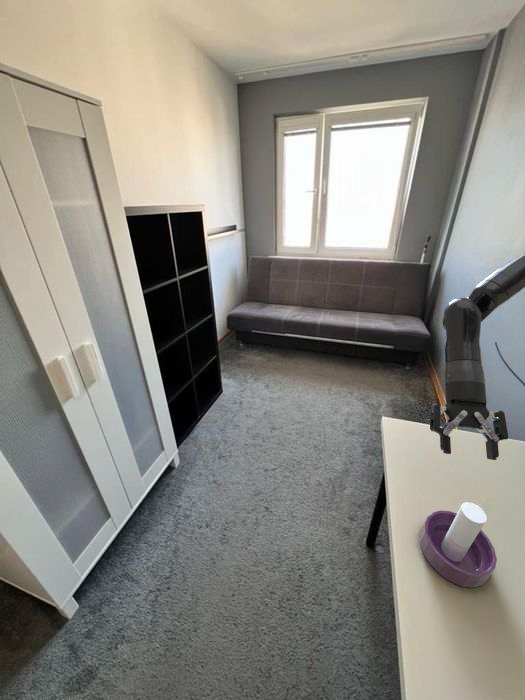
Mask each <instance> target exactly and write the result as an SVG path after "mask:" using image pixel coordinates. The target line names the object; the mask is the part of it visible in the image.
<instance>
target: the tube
mask: <svg viewBox="0 0 525 700" xmlns="http://www.w3.org/2000/svg"><path fill="white" fill-rule="evenodd" d="M456 513H457V515H456V517H455V519H454V521H453V523H452V525H451V527H450V528H449V530H448V532H447V534H446V536H445V538H444V540H443V542H442V544H441V549H442V551H443V553H444V554H445V555H446V556H447V557H448V558H449V559H450V560H452V561H455V562H459V561H461V560H462V559H463V557H464V556H465V554H466V553H467V551H468V549H469V548H470V546H471V544H472V543H473V541H474V540H475V538H476V536H477V535H478V533H479V532H480V530H482V529H483V527H484V525H485V524H486V522H487V519H488V517H487V514H486V512H485V511H484V509H482V508H481V507H480V506H479V505H477V504H475V503H473V502H469V501H465V502H463V503H462V504H461V505H460V507H459V509H458V511H457V512H456Z"/></svg>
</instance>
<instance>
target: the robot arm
mask: <svg viewBox="0 0 525 700" xmlns="http://www.w3.org/2000/svg"><path fill="white" fill-rule="evenodd" d="M524 289H525V253H523V254H521V255H519V256H517V257H515V258H514V259H512V260H510V261H509V262H507V263H505V264H504V265H502V266H501V267H499V268H498V269H496V270H495V271H494V272H492V273H491V274H490V275H488V276H487V277H486V278H484V279H483V280H482V281H481V282H479V283H478V284H477V285H476V286H475V287H474V289H472V292H471V293H470V294H469V295H468V296H467V297H458V298H455V299H453V300H452V301H450V302H449V303H448V304H447V305H446V307H445V309H444V312H443V317H442V326H443V329H444V330H445V337H446V341H445V344H444V360H445V361H444V362H445V366H444V389H445V390H444V391H445V406H443V405H440V404H433V405H431V406H430V413H429V415H430V416H429V417H430V418H429V430H430V431H431V432H434V433H436V434H438V435H439V447H440V450H441V451H442V453H443V454H446V455H451V454H452V443H451V436H449V435H450V434H451V433H452V432H453V430H454V429H456V428H467V429H472V430H473V429H476V430H477V432H479V433H480V434H481V435H482V436H483V438H484V439H485V452H486V453H485V454H486V459H487V460H492V461H497V458H499V457H500V451H499V442H500V441H504V440H508V439H509V433H508V426H507V419H506V414H505V412H504V411H503V410H496V411H493V410H492V411H491V410H488V408H487V403H488V401H487V388H486V377H485V376H486V375H485V371H484V366H483V357H482V348H481V329H482V328H481V326H482V322H483V321H484V320H486V319H487V318H488V317H489V316H490V315H491V314H492V313H493V312H494V311H495V310H496V309H498V308H499V307H501V306H502V305H504V304H505V303H506V302H508V301H509V300H511V299H512V298H513V297H515V296H516V295H517V294H518V293H520V292H521V291H523V290H524ZM494 345H495V348H496V351H497V354H498V355H499V357H500V359H501V361H502V362H503V364H504V365H505V367H506V368H507V369H508V370H509V372H510V373H511V374H512V375H513V376H514V377H515V378H516V379H517V380H518V381H519V382H520V383H521V384H522V385H523V386H524V387H525V382H524V381H523V379H521V378H520V376H518V375H517V374H516V373H515V371H514V370H513V369H512V368H511V367H510V365H508V363H507V362H506V360H505V359H504V357H503V355H502V353H501V351H500V348H499V346H498V343H497V341H494ZM444 413H445V414H446V416H447V417H448V419H447V420H446V421H445V422H444V423H443V425H442V427H441V416H442V415H443V414H444ZM487 419H490V420H491V421H492V426H493V428H492V426H491V425H490V424H489V423H488V422H487Z"/></svg>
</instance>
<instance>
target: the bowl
mask: <svg viewBox="0 0 525 700" xmlns="http://www.w3.org/2000/svg"><path fill="white" fill-rule="evenodd" d="M457 513H458V512H454V511H451V510H442V509H441V510H437V511H433V512H431V513H430V514H429V515H428V516H427V517H426V519H425V522H424V523H423V526H422V528H421V531H420V533H419V545H420V547H421V550H422V553H423V555H424V557H425V558H426V560H427V562H428V563H429V564H430V565H431V567H432V568H433V569H434V570H435V571H436V572H437V573H438V574H439V575H440V576H442V577H443V578H445V579H446V580H447V581H449V582H451V583H453V584H456V585H458V586H459V587H464V588H471V589H472V588H477V587H481V586H482V585H484V583H486V581H487V580H488V579H489V577H490V576H491V575H492V574H493V572H494V570H496V568H497V561H498V558H497V554H496V550H495V547H494V545H493V544H492V542H491V540H490V538H489V537H488V536H487V535H486V534H485V532H484V531H483V530H482V529H481V530H480V532H479V533H478V535H477V536H476V538H475V540H474V541H473V543H472V544H471V546H470V548H469V549H468V551H467V553H466V554H465V556H464V557H463V559H462V560H461V561H459V562H455V561H452V560H450V559H449V558H448V557H447V556H446V555H445V554H444V553H443V551H442V549H441V544H442V542H443V540H444V538H445V536H446V534H447V532H448V530H449V528H450V527H451V525H452V523H453V521H454V519H455V517H456V515H457Z"/></svg>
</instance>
